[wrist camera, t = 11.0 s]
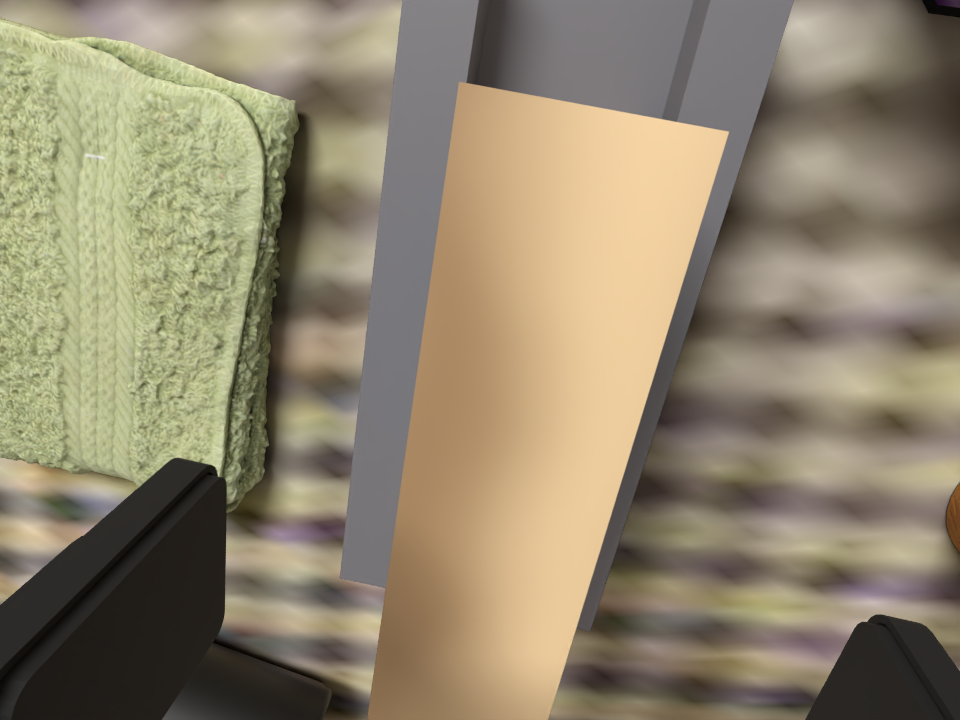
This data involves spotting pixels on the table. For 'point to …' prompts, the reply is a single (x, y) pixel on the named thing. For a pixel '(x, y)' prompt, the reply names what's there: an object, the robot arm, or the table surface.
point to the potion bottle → (943, 7)
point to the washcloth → (135, 258)
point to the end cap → (247, 691)
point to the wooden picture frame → (529, 391)
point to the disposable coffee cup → (954, 518)
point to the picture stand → (561, 76)
